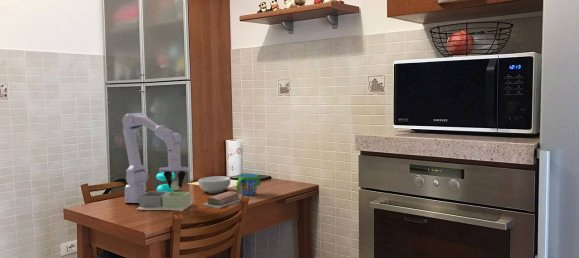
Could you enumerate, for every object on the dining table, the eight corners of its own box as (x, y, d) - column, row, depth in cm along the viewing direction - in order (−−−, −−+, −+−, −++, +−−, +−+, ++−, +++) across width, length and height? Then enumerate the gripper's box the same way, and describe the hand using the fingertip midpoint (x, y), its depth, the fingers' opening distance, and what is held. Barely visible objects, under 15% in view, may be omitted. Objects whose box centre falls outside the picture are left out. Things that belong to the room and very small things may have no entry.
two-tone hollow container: (136, 210, 227) (135, 197, 227) (148, 203, 241) (147, 191, 240) (182, 211, 225) (182, 198, 224) (192, 203, 238) (191, 191, 238)
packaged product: (226, 189, 248) (242, 191, 243) (226, 199, 248) (242, 201, 243) (202, 197, 233) (218, 199, 227) (202, 207, 233) (218, 209, 228)
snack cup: (253, 190, 265) (253, 172, 264) (266, 193, 257) (266, 174, 256) (230, 195, 254) (230, 176, 253) (243, 198, 246) (243, 178, 245)
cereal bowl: (233, 188, 272) (233, 175, 271) (226, 195, 256) (226, 181, 255) (203, 188, 274) (203, 175, 273) (195, 195, 257) (194, 181, 257)
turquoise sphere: (170, 171, 274) (177, 173, 266) (171, 188, 275) (178, 191, 267) (153, 173, 268) (160, 175, 260) (154, 191, 269) (161, 194, 261)
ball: (169, 191, 230) (169, 181, 230) (172, 189, 234) (172, 180, 234) (178, 191, 230) (178, 181, 229) (181, 189, 234) (181, 180, 234)
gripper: (156, 160, 228) (157, 188, 229) (186, 159, 226) (187, 189, 227) (161, 157, 235) (163, 185, 236) (191, 157, 233) (192, 185, 234)
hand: (175, 187), depth 232 cm, fingers closed on ball, 4 cm apart
